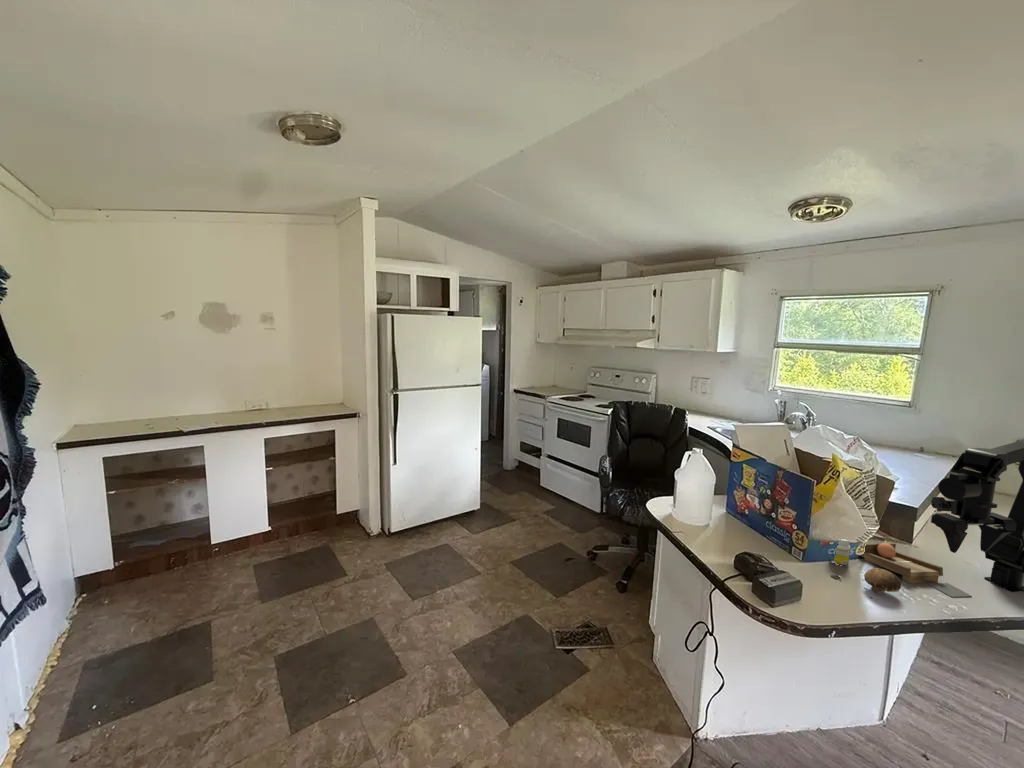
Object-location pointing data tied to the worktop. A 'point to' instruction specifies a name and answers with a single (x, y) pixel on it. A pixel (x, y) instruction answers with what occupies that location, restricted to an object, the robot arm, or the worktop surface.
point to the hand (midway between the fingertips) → (968, 551)
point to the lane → (904, 565)
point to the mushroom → (882, 580)
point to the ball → (886, 550)
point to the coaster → (949, 590)
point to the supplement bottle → (842, 552)
